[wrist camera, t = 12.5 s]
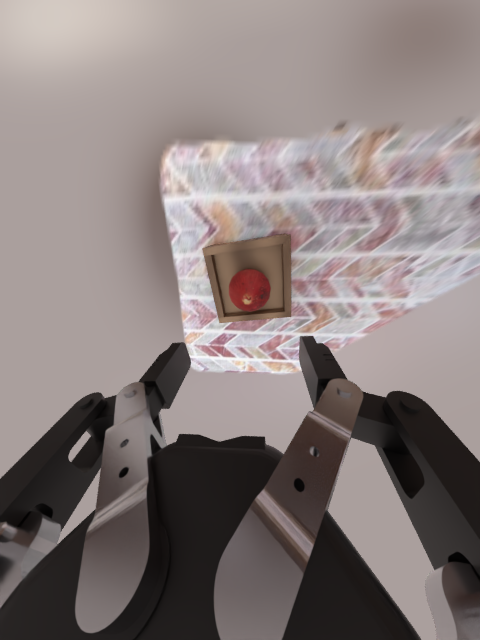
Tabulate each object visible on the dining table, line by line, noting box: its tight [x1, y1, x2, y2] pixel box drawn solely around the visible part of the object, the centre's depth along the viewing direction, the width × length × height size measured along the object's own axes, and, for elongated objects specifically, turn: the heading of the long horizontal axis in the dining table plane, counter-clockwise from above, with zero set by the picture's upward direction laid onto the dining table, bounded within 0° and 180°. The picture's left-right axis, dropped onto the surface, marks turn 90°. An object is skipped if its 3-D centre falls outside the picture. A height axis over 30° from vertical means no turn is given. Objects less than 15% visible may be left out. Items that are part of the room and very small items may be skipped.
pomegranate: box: [229, 269, 271, 312], centre depth 23 cm, size 6×6×8 cm
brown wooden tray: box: [202, 234, 291, 323], centre depth 28 cm, size 12×12×6 cm
